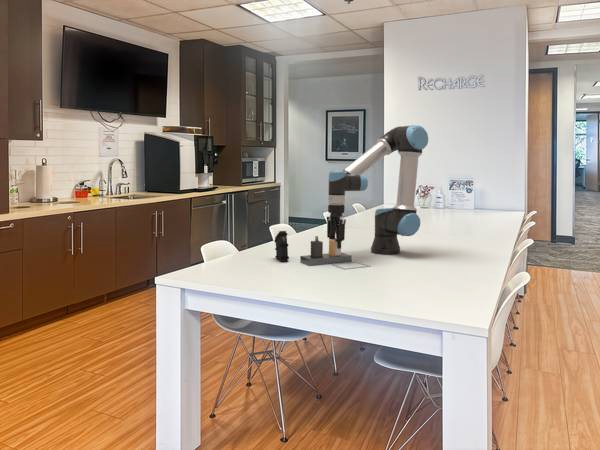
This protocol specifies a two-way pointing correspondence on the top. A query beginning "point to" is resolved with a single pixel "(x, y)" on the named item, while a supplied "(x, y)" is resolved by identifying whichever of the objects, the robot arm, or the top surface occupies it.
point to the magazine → (281, 246)
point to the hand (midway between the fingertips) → (335, 254)
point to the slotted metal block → (325, 259)
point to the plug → (332, 247)
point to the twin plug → (316, 248)
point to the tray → (350, 268)
